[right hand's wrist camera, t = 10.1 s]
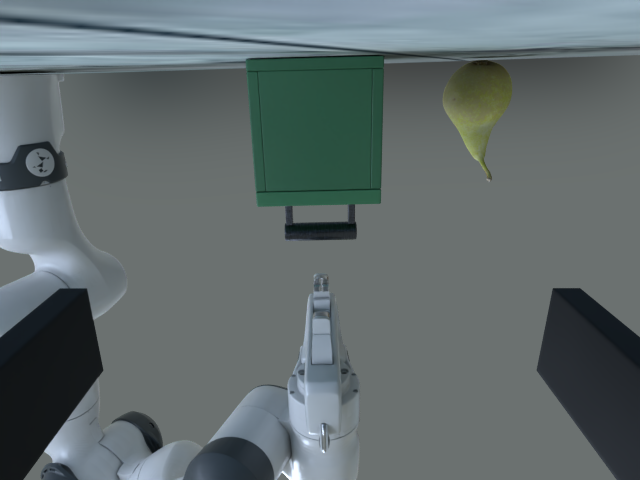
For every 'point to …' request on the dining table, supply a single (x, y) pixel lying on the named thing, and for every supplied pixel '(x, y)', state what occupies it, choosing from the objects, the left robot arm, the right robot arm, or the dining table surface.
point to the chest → (316, 122)
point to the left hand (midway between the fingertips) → (321, 293)
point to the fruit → (477, 103)
